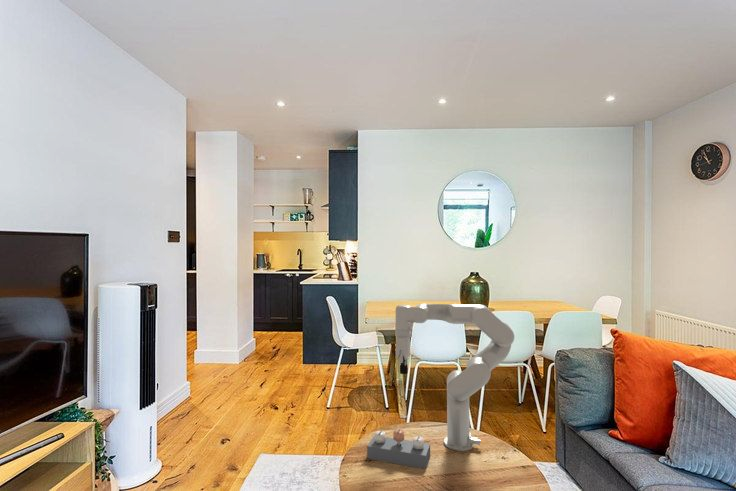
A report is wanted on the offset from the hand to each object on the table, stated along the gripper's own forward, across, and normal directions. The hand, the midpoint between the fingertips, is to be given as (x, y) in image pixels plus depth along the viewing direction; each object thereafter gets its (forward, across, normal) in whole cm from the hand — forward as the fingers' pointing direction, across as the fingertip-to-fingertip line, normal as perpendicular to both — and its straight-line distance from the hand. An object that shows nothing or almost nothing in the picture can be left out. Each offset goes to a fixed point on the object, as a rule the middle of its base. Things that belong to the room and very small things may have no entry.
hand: (403, 373), depth 174 cm
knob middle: (+25, +16, +1) cm, 30 cm away
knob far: (+27, +16, -7) cm, 32 cm away
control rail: (+29, +16, +2) cm, 33 cm away
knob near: (+27, +17, +9) cm, 33 cm away
